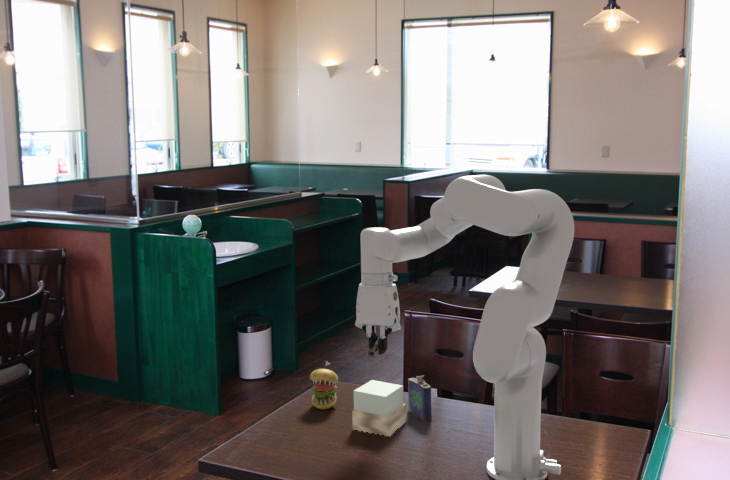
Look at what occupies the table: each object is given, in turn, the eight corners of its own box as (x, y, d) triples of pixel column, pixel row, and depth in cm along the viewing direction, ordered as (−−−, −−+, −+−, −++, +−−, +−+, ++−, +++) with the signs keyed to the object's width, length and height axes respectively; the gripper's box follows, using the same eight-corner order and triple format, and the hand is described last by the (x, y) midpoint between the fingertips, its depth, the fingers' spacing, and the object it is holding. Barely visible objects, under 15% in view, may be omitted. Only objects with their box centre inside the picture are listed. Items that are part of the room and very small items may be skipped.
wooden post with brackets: (390, 344, 174) (386, 330, 172) (377, 365, 168) (373, 351, 166) (384, 344, 175) (380, 329, 173) (370, 364, 169) (366, 350, 167)
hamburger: (306, 409, 185) (304, 366, 183) (315, 400, 192) (314, 358, 190) (333, 412, 182) (332, 368, 181) (342, 402, 189) (341, 360, 188)
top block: (403, 404, 174) (403, 385, 174) (385, 416, 167) (385, 396, 166) (372, 398, 179) (372, 379, 178) (353, 410, 171) (353, 390, 171)
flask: (406, 411, 183) (406, 371, 181) (415, 408, 184) (415, 369, 183) (425, 423, 175) (425, 382, 173) (435, 420, 176) (435, 380, 175)
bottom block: (406, 422, 176) (405, 403, 175) (389, 438, 167) (389, 418, 166) (370, 416, 180) (370, 398, 179) (352, 431, 171) (352, 411, 170)
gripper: (412, 278, 168) (413, 352, 171) (354, 274, 175) (356, 345, 177) (400, 283, 161) (401, 360, 164) (340, 279, 168) (342, 353, 171)
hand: (378, 352), depth 171 cm, fingers closed on wooden post with brackets, 1 cm apart
